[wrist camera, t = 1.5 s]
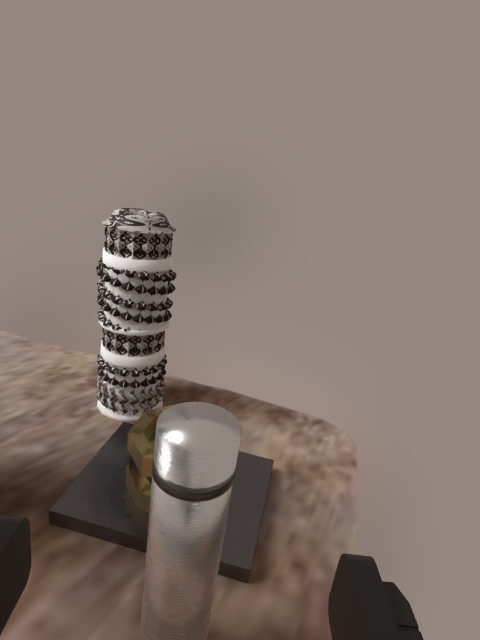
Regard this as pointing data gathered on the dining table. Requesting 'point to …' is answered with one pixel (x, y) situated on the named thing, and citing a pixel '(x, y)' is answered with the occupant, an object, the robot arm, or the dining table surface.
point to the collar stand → (135, 494)
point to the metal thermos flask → (187, 518)
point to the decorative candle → (134, 312)
